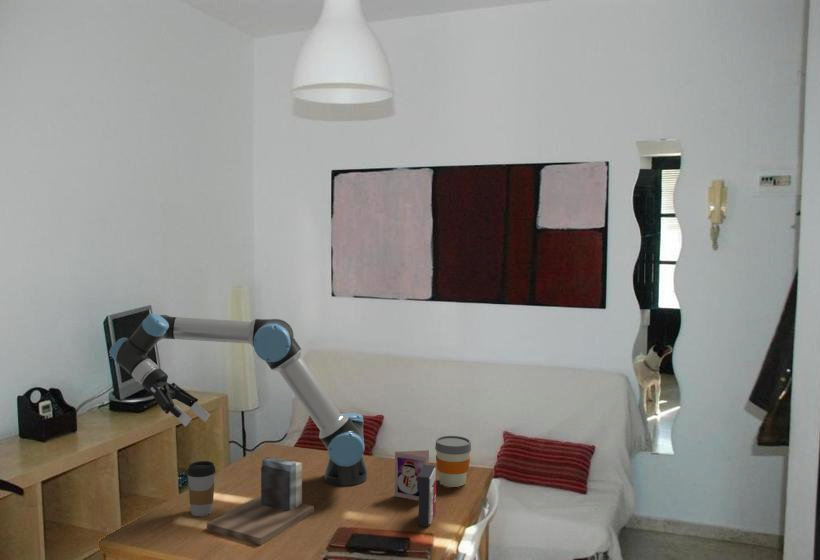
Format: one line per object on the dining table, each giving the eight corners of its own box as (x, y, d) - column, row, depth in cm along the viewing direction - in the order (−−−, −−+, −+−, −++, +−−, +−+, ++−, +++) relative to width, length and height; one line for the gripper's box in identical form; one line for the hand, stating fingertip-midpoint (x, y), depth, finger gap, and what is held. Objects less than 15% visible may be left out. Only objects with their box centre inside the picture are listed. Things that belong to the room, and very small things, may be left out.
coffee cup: (191, 507, 210) (190, 460, 209) (218, 506, 210) (218, 460, 209) (184, 518, 201) (184, 470, 200) (212, 518, 202) (212, 469, 201)
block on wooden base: (206, 529, 194) (206, 475, 193) (263, 499, 216) (263, 451, 215) (260, 545, 185) (260, 489, 184) (313, 512, 207) (314, 462, 206)
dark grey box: (430, 527, 198) (431, 477, 197) (416, 525, 199) (417, 476, 198) (436, 512, 209) (437, 465, 208) (423, 510, 210) (423, 464, 209)
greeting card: (393, 496, 221) (393, 452, 220) (403, 489, 227) (403, 446, 226) (424, 503, 216) (425, 457, 215) (433, 495, 222) (434, 451, 221)
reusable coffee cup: (433, 488, 228) (433, 445, 227) (435, 475, 241) (436, 434, 240) (469, 490, 227) (470, 447, 226) (470, 477, 239) (471, 436, 238)
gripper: (162, 383, 224) (207, 425, 221) (121, 387, 200) (171, 434, 196) (176, 366, 224) (221, 407, 221) (137, 368, 200) (188, 415, 196)
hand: (198, 420), depth 209 cm, fingers open, 13 cm apart
